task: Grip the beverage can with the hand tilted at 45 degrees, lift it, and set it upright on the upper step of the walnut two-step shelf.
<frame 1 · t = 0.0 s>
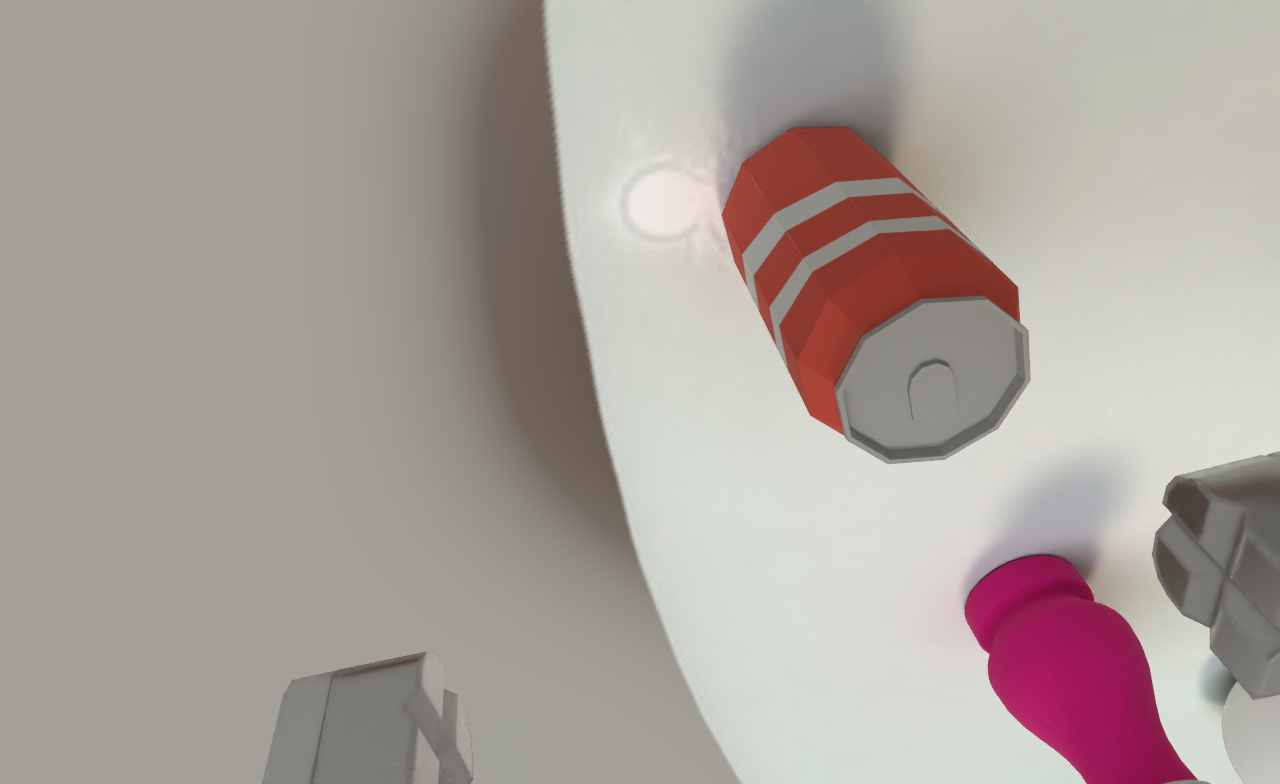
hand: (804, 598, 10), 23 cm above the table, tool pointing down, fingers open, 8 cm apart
beverage can: (801, 201, 33), on the table
ornament: (1266, 667, 55), on the table
pepper mill: (1018, 592, 47), on the table
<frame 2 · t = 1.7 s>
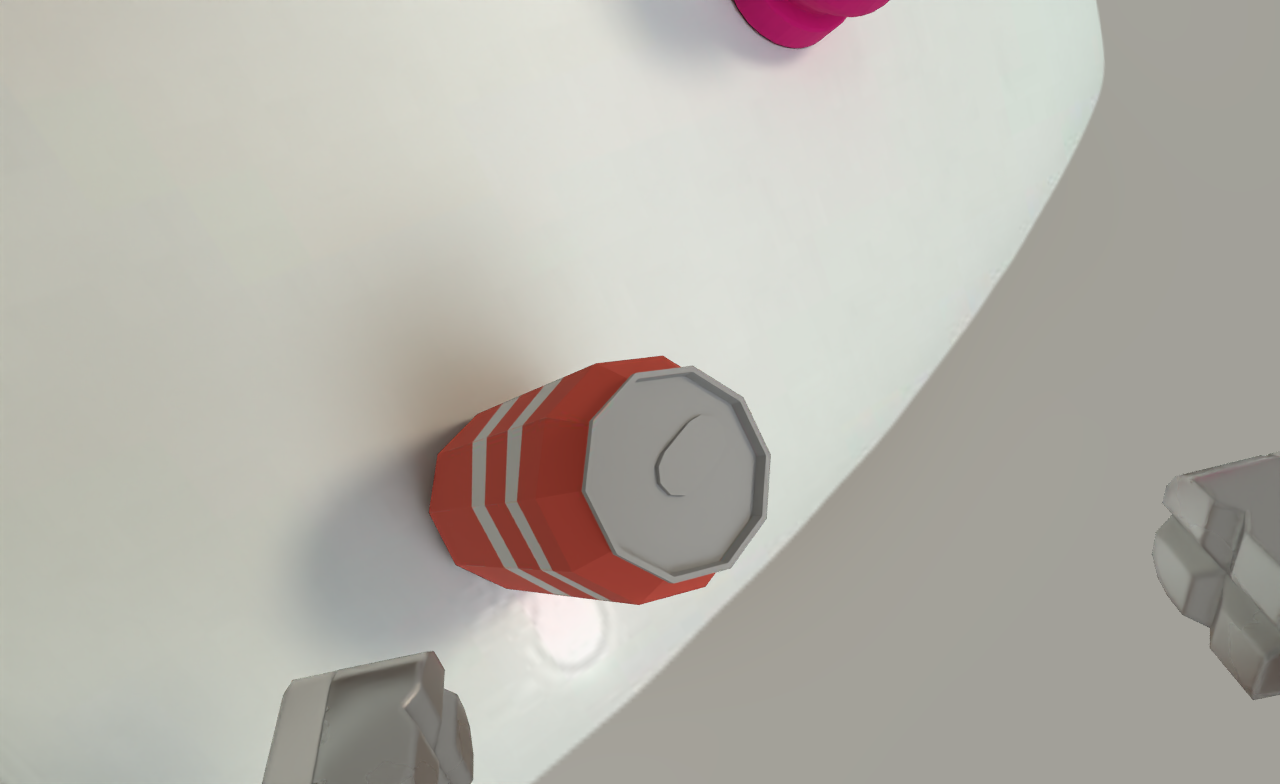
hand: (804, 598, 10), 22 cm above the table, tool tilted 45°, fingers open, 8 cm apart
beverage can: (509, 496, 32), on the table
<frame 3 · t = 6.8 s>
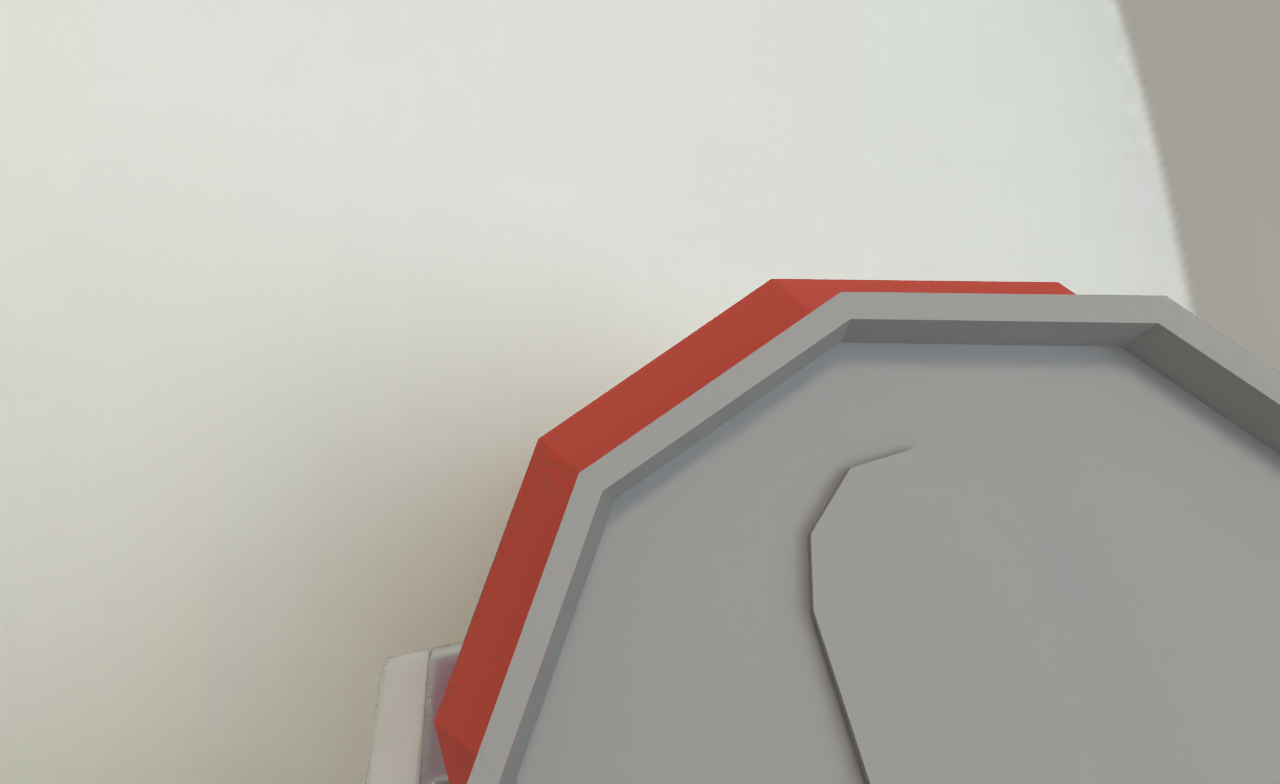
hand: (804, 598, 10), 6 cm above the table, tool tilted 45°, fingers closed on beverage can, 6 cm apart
beverage can: (762, 606, 16), on the table, touching gripper
when the fingers open (15 cm above the table, at t = 15.8 s): beverage can stays where it is, resting on step shelf.
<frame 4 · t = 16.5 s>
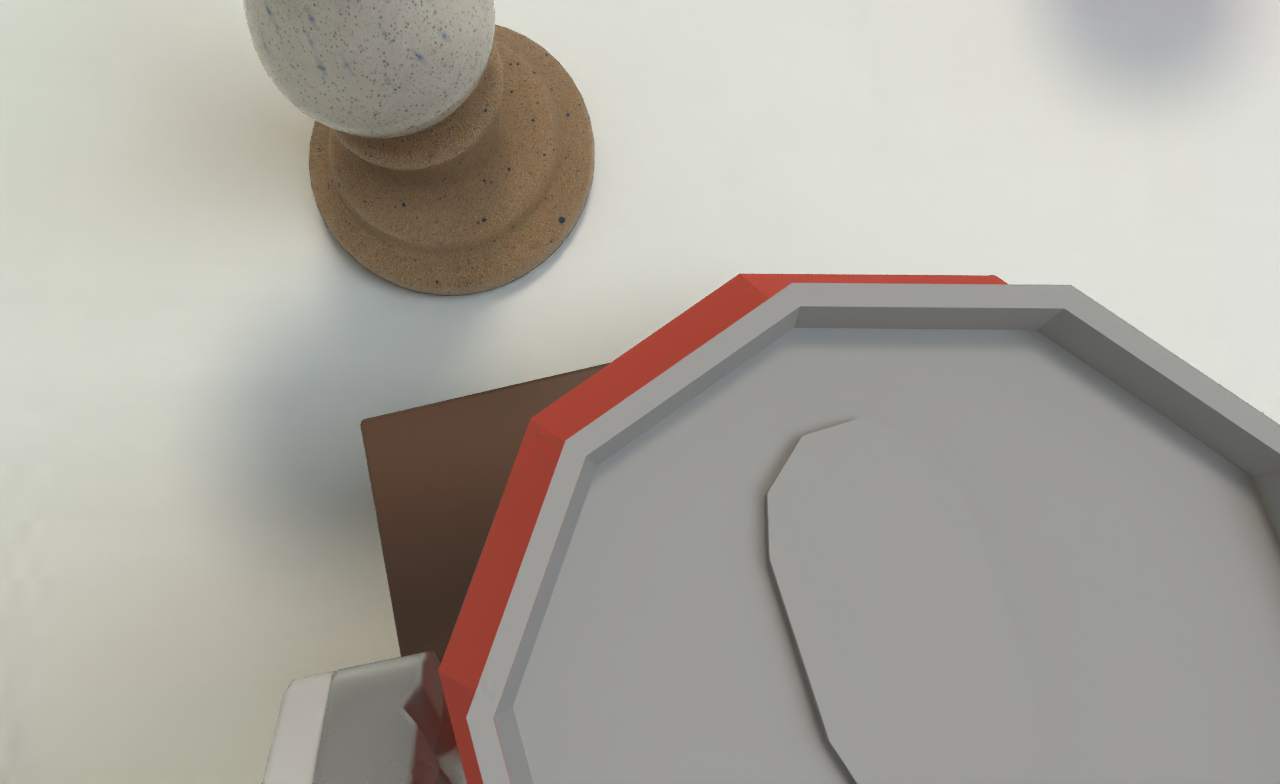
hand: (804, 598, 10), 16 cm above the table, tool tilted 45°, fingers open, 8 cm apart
step shelf: (747, 717, 25), on the table
beverage can: (746, 590, 17), point 9 cm above the table, touching step shelf
candle holder: (459, 166, 28), on the table
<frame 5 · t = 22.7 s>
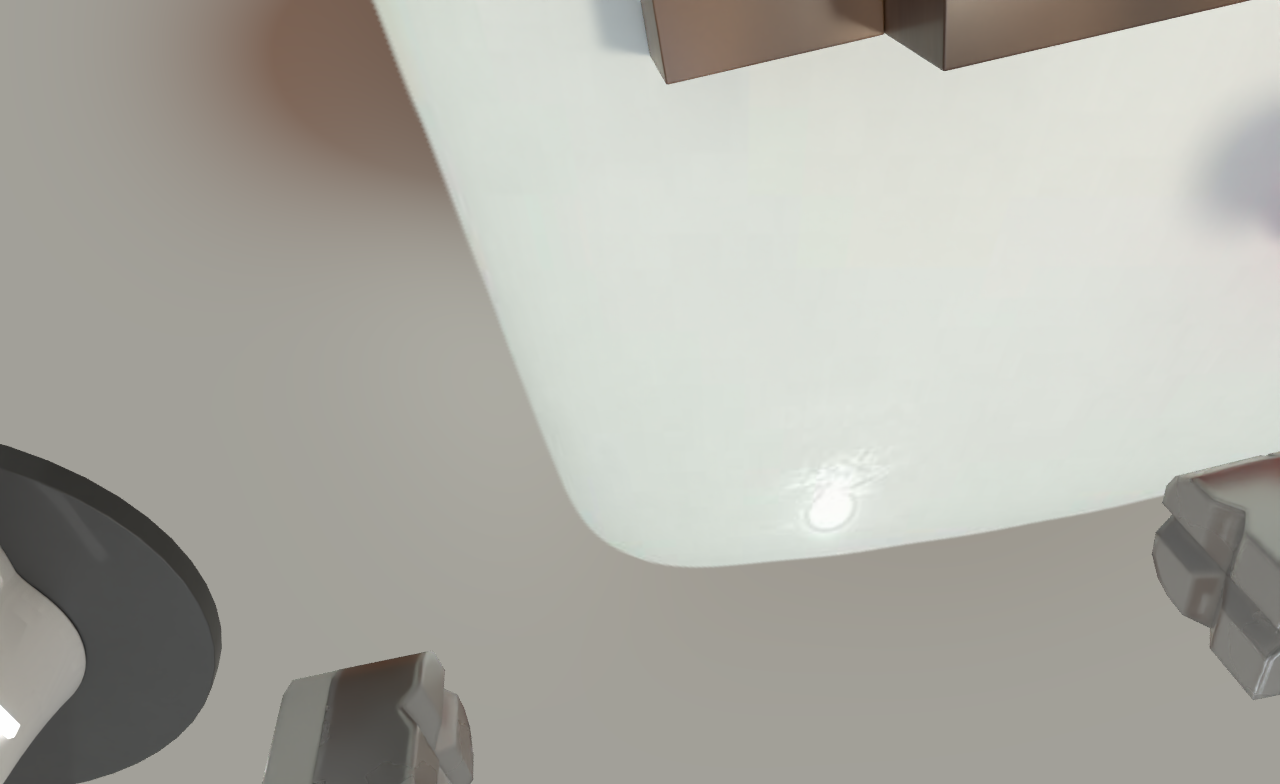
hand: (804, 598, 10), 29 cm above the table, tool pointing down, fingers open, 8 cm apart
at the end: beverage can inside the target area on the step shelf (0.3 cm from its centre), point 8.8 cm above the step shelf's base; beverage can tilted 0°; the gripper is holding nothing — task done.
